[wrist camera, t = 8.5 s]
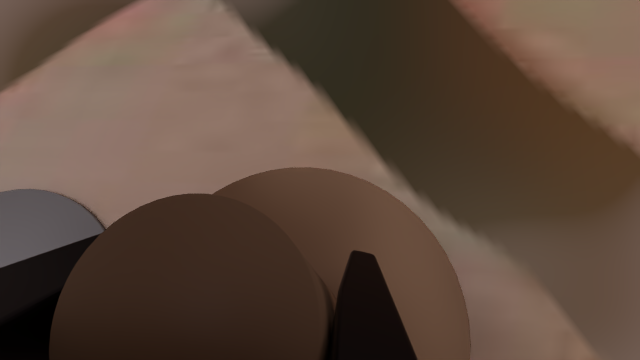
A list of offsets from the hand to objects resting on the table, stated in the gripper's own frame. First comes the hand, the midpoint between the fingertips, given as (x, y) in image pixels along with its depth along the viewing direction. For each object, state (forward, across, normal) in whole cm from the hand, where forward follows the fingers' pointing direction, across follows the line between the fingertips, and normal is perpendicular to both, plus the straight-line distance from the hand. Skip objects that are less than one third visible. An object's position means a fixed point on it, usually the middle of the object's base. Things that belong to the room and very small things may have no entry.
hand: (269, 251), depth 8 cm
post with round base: (+4, 0, +6) cm, 7 cm away
